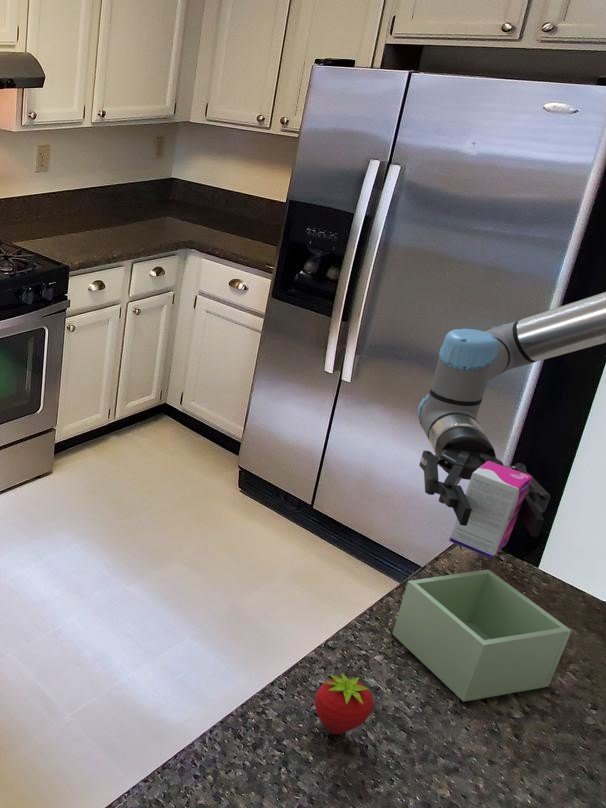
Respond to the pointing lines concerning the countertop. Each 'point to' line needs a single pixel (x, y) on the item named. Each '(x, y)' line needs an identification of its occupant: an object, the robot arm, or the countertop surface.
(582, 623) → the countertop surface
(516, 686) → the trash bin
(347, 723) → the strawberry
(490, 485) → the supplement box
